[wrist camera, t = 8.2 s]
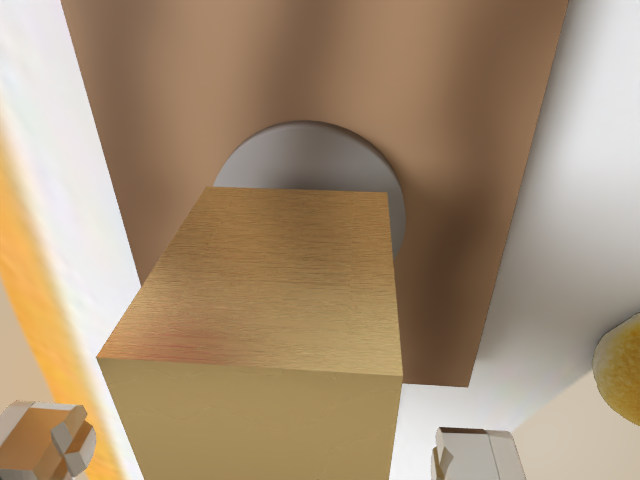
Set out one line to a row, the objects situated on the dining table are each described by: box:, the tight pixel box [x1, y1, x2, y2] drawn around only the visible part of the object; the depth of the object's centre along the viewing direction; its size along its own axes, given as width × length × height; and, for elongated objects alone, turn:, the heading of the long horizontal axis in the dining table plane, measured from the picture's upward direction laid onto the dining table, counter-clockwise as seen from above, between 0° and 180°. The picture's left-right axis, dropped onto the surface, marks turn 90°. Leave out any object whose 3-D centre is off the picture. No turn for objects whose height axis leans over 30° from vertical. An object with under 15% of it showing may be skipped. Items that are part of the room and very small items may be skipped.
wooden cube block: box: [96, 186, 403, 480], centre depth 13 cm, size 6×6×7 cm
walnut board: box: [61, 0, 569, 387], centre depth 17 cm, size 16×20×10 cm
